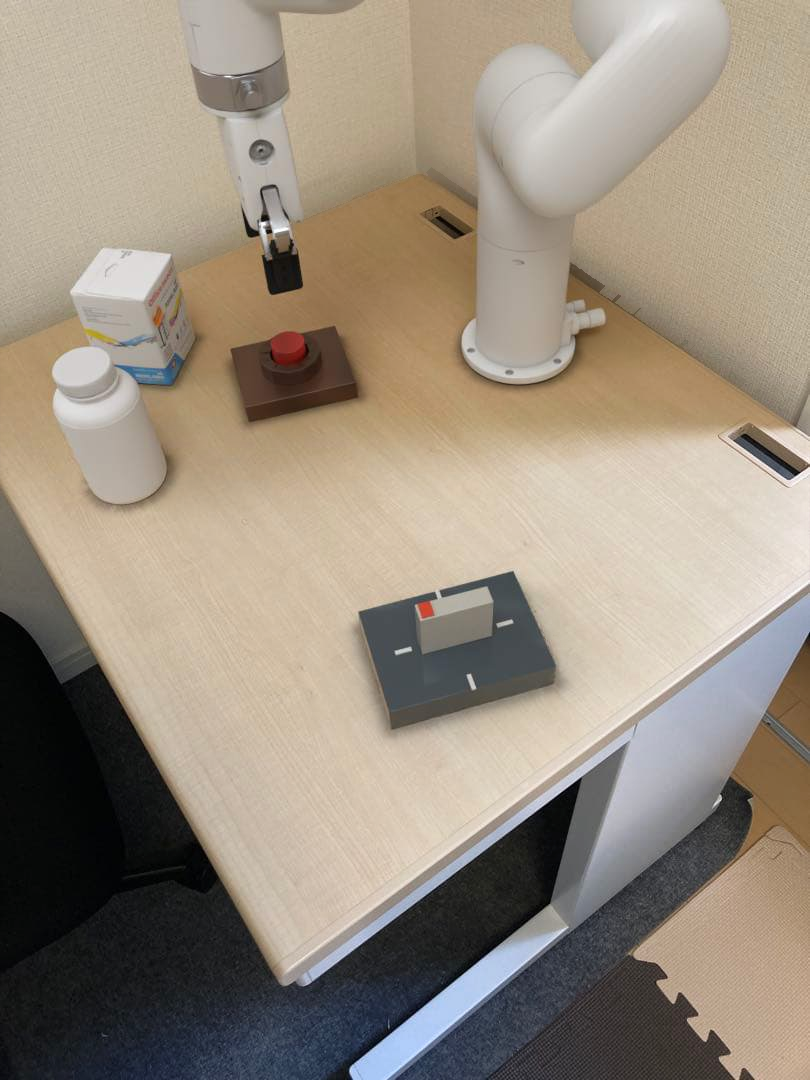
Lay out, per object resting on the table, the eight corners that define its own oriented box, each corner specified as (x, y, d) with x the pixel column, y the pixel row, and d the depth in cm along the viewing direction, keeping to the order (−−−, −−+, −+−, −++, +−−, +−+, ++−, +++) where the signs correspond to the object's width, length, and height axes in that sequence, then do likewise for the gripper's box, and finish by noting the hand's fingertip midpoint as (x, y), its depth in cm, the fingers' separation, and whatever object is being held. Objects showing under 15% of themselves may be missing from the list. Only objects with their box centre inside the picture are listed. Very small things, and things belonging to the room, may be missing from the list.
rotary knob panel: (511, 589, 82) (513, 568, 79) (553, 685, 75) (557, 665, 73) (360, 629, 80) (357, 609, 77) (391, 731, 74) (389, 712, 71)
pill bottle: (99, 518, 89) (44, 405, 77) (83, 464, 94) (29, 350, 82) (177, 491, 91) (135, 377, 79) (158, 439, 96) (116, 325, 84)
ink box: (172, 387, 101) (143, 300, 91) (101, 380, 102) (65, 293, 93) (198, 337, 106) (173, 250, 97) (130, 331, 107) (99, 244, 98)
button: (302, 340, 99) (300, 328, 98) (309, 361, 97) (307, 348, 95) (270, 348, 98) (267, 335, 97) (276, 369, 96) (273, 356, 95)
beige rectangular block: (485, 620, 76) (487, 584, 72) (491, 636, 75) (493, 600, 71) (416, 638, 75) (414, 603, 71) (422, 654, 74) (420, 619, 70)
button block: (336, 340, 104) (333, 312, 101) (358, 397, 98) (354, 369, 95) (233, 363, 103) (226, 335, 100) (248, 422, 97) (241, 394, 93)
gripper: (313, 118, 69) (336, 305, 82) (263, 27, 79) (291, 206, 92) (215, 137, 67) (254, 324, 81) (178, 42, 78) (218, 221, 91)
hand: (274, 261), depth 87 cm, fingers open, 9 cm apart
